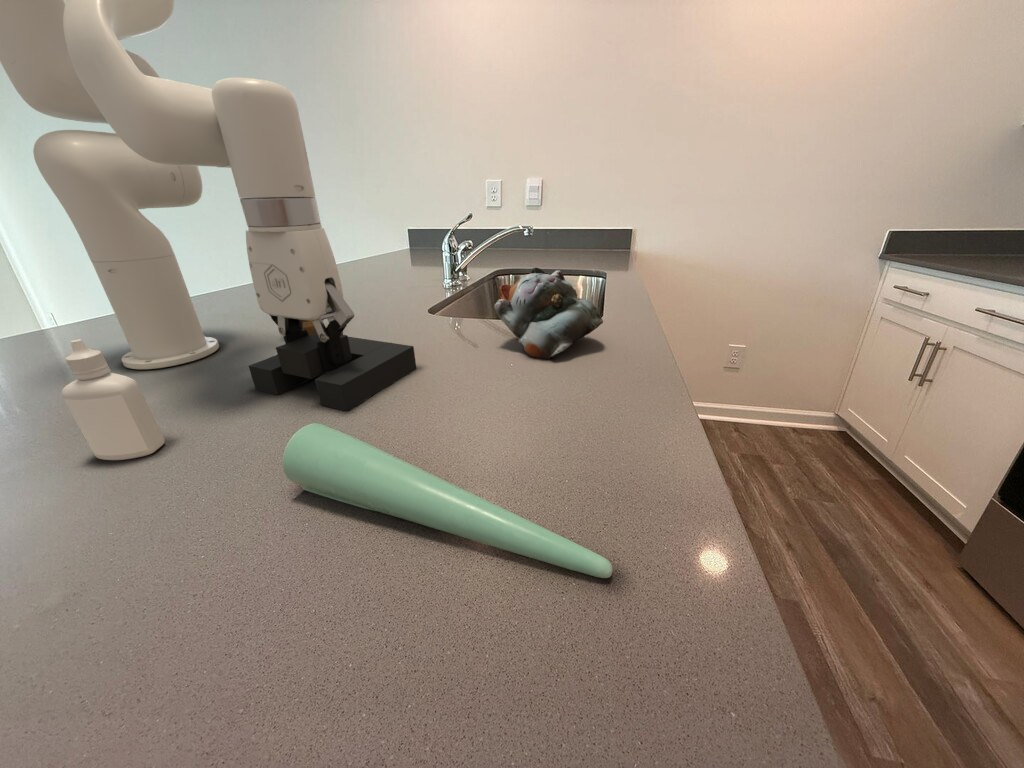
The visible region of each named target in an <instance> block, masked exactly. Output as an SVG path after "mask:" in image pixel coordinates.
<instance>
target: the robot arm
mask: <svg viewBox="0 0 1024 768" xmlns="http://www.w3.org/2000/svg"><path fill="white" fill-rule="evenodd" d="M174 8H175V0H0V64H1V66H2V68H3V70H4V71H5V73H6V75H7V77H8V78H9V80H10V82H11V84H12V85H13V87H14V89H15V90H16V92H17V93H18V95H19V96H20V97H21V99H22V100H23V101H24V102H25V103H26V104H27V105H28V106H29V107H30V108H31V109H33V110H34V111H36V112H39V113H40V114H42V115H46V116H49V117H52V118H57V119H62V120H67V121H75V122H81V123H92V124H102V125H109V126H110V127H111V129H112V130H113V131H114V132H104V131H95V130H83V129H60V130H58V129H57V130H53V131H49V132H46V133H43V134H42V135H41V136H39V137H38V138H37V139H36V140H35V142H34V145H33V151H32V152H33V158H34V161H35V164H36V167H37V168H38V171H39V172H40V174H41V176H42V178H43V179H44V181H45V183H46V184H47V186H48V187H49V188H50V190H51V191H52V193H53V194H54V196H55V198H57V200H58V202H59V204H60V205H61V206H62V208H63V209H64V211H65V213H66V214H67V216H68V218H69V220H70V221H71V224H72V225H73V227H74V229H75V230H76V232H77V234H78V236H79V239H80V240H81V243H82V244H83V247H84V249H85V251H86V253H87V256H88V258H89V260H90V262H91V264H92V266H93V268H94V270H95V273H96V275H97V277H98V279H99V282H100V284H101V286H102V289H103V291H104V293H105V295H106V297H107V299H108V301H109V304H110V306H111V308H112V310H113V312H114V315H115V317H116V319H117V321H118V324H119V326H120V328H121V331H122V332H123V334H124V337H125V339H126V342H127V344H128V347H129V348H130V351H128V352H126V353H124V355H123V356H122V357H121V362H122V365H123V366H124V367H125V368H127V369H130V370H131V369H132V370H153V369H154V370H156V369H163V368H169V367H174V366H175V367H176V366H180V365H183V364H187V363H192V362H195V361H197V360H200V359H203V358H205V357H208V356H210V355H213V353H215V352H216V351H218V350H219V348H220V343H219V341H218V339H216V338H214V337H210V336H205V334H204V331H203V328H202V325H201V322H200V320H199V318H198V315H197V312H196V309H195V306H194V303H193V300H192V298H191V295H190V292H189V290H188V287H187V284H186V282H185V279H184V276H183V273H182V271H181V270H182V269H181V268H180V265H179V262H178V260H177V256H176V254H175V252H174V249H173V246H172V244H171V241H170V240H169V238H168V237H167V235H166V234H165V233H164V232H163V231H162V230H161V228H159V226H157V225H156V224H155V223H154V222H152V221H151V220H150V219H149V218H148V217H147V216H145V215H144V213H142V212H141V211H140V210H146V209H169V208H184V207H190V206H193V205H195V204H196V203H198V202H199V201H200V200H201V198H202V195H203V180H202V175H201V172H200V168H199V167H212V168H213V167H214V168H215V167H216V168H223V169H224V168H225V169H226V168H227V169H230V170H231V172H232V176H233V177H232V178H233V180H234V183H235V187H236V190H237V195H238V198H239V201H240V205H241V209H242V214H243V216H244V220H245V224H246V226H247V229H246V230H245V242H246V243H245V244H246V253H247V260H248V266H249V271H250V274H251V279H252V285H253V289H254V292H255V296H256V300H257V304H258V306H259V309H260V310H261V311H262V312H263V313H265V314H267V315H268V316H270V319H271V321H273V323H274V324H275V325H276V326H277V329H278V330H277V331H278V333H279V334H280V335H281V336H283V341H284V344H287V343H289V342H292V341H295V340H298V339H300V338H303V337H306V336H308V332H307V330H305V329H304V330H302V329H303V320H307V321H312V322H313V325H314V327H315V329H316V331H317V334H318V336H319V338H320V340H321V341H319V342H317V346H318V349H319V354H320V358H321V362H322V367H323V370H324V371H327V372H326V373H329V372H331V370H333V369H335V368H337V367H339V366H342V365H343V364H344V363H345V359H344V354H343V349H342V344H341V340H340V336H342V335H344V331H345V330H346V327H348V324H349V323H350V322H351V321H352V320H353V319H354V318H355V313H354V311H353V310H352V308H351V306H350V305H349V304H348V303H347V301H346V300H345V297H344V291H343V286H342V281H341V276H340V274H339V269H338V264H337V262H336V259H335V256H334V255H335V254H334V253H333V250H332V249H333V248H332V246H331V243H330V240H329V238H328V236H327V233H326V230H325V228H324V227H322V222H321V216H320V211H319V207H318V203H317V198H316V192H315V187H314V182H313V176H312V172H311V168H310V167H311V166H310V163H309V157H308V152H307V148H306V143H305V137H304V132H303V128H302V122H301V118H300V113H299V109H298V104H297V101H296V98H295V97H294V95H293V93H292V92H291V91H290V89H288V88H286V87H285V86H284V85H282V84H279V83H277V82H275V81H271V80H265V79H260V78H252V77H227V78H222V79H219V80H217V81H216V82H215V83H214V84H213V86H212V88H209V87H205V86H202V85H197V84H192V83H187V82H182V81H178V80H177V81H176V80H172V79H167V78H162V77H161V76H160V74H159V73H158V71H157V70H156V69H155V68H154V66H152V65H151V63H150V62H148V61H147V60H146V59H145V58H143V57H142V56H141V55H139V54H138V53H136V52H134V51H131V50H129V49H127V48H124V46H123V44H122V43H121V40H128V39H130V38H134V37H139V36H143V35H147V34H150V33H152V32H156V31H157V30H159V29H161V28H162V27H163V26H164V25H166V24H167V23H168V21H169V20H170V19H171V17H172V15H173V12H174ZM324 320H327V322H328V324H327V325H325V323H324Z"/></svg>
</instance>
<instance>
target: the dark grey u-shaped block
mask: <svg viewBox="0 0 1024 768" xmlns="http://www.w3.org/2000/svg"><path fill="white" fill-rule="evenodd" d="M348 341H349V346H350V351H351V356H352V360H350V361H348V362H346V363H344V364H343V365H342V366H339V367H337V368H335V369H333V370H331V371H329V372H326V373H324V374H322V375H320V376H318V377H316V378H315V379H314V382H315V387H316V390H317V394H318V399H319V401H320V402H319V403H320V405H321V406H324V407H328V408H332V409H337V410H341V411H344V412H348V411H349V410H351V409H353V408H355V407H356V406H358V405H359V404H362V402H364V401H366V400H367V399H369V398H371V397H372V396H374V395H376V394H377V393H379V392H380V391H383V390H384V389H385V388H387V387H389V386H391V385H392V384H393V383H395V382H396V381H398V380H400V379H401V378H403V377H405V376H406V375H408V374H409V373H411V372H413V371H415V370H416V369H417V362H416V354H415V348H414V345H408V344H401V343H394V342H388V341H381V340H375V339H367V338H360V337H355V336H354V337H353V336H348ZM247 367H248V369H249V373H250V377H251V379H252V382H253V385H254V389H255V391H259V392H264V393H267V394H273V395H276V396H279V395H281V394H283V393H286V392H287V391H290V390H292V389H294V388H296V387H297V386H300V385H302V384H304V383H306V382H308V381H310V380H311V379H309V378H304V377H300V376H295V375H290V374H286V373H283V372H282V368H281V364H280V361H279V357H278V354H275V355H273V356H270V357H267V358H265V359H262V360H260V361H257V362H255V363H252V364H249V365H248V366H247Z"/></svg>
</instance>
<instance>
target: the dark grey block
mask: <svg viewBox="0 0 1024 768" xmlns="http://www.w3.org/2000/svg"><path fill="white" fill-rule="evenodd" d="M348 337H349V335H347V334H343V335H342V336H340V340H341V344H342V349H343V354H344V359H345V363H346V362H348V361H350V360H352V356H351V351H350V346H349V341H348ZM319 341H321V340H320V338H319V336H318V334H317V332H316V333H314V334H311V335H308V336H306V337H303V338H300V339H298V340H295V341H292V342H289V343H287V344H285V343H284V344H281V345H279V346H276V347H275V350H276V353H277V354H276V355H278V357H279V361H280V364H281V368H282V372H283V373H286V374H290V375H295V376H300V377H304V378H309V379H310V380H312V379H314V378H315V379H316V378H318V377H320V376H322V375H324V374H326V373H328V372H327V371H324V370H323V367H322V362H321V358H320V354H319V349H318V346H317V342H319Z"/></svg>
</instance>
